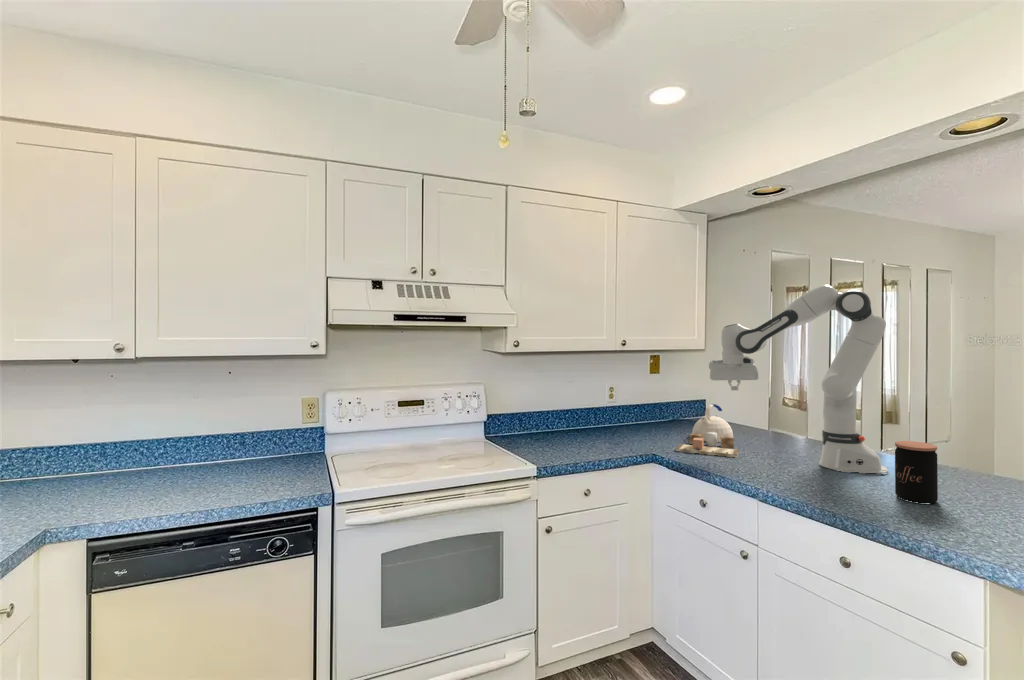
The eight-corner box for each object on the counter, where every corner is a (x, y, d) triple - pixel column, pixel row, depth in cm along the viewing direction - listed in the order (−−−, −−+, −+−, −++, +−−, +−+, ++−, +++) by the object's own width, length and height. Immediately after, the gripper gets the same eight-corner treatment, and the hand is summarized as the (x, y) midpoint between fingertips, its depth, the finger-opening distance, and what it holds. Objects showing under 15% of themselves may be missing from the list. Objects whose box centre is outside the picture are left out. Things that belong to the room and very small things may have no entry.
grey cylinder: (718, 444, 238) (717, 432, 238) (716, 446, 234) (716, 434, 234) (707, 443, 241) (707, 431, 241) (705, 445, 236) (705, 433, 236)
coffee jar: (886, 494, 162) (886, 441, 162) (916, 493, 163) (916, 440, 163) (915, 506, 151) (915, 448, 151) (947, 504, 152) (946, 447, 152)
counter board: (738, 452, 221) (738, 449, 221) (736, 457, 213) (736, 454, 213) (680, 447, 234) (679, 443, 234) (675, 451, 226) (675, 448, 226)
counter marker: (703, 446, 227) (703, 438, 227) (701, 450, 220) (701, 441, 220) (694, 446, 229) (694, 437, 229) (692, 449, 222) (691, 440, 222)
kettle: (684, 438, 254) (683, 404, 254) (703, 432, 268) (702, 400, 267) (722, 444, 239) (721, 408, 239) (740, 438, 252) (740, 403, 252)
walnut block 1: (703, 444, 240) (703, 434, 240) (699, 446, 237) (699, 435, 236) (693, 442, 244) (693, 433, 244) (689, 444, 240) (689, 434, 240)
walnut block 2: (731, 446, 235) (731, 436, 235) (733, 448, 230) (733, 438, 230) (720, 445, 236) (720, 435, 236) (722, 448, 231) (722, 437, 231)
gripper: (707, 360, 222) (709, 390, 222) (757, 359, 212) (759, 390, 212) (709, 360, 228) (711, 389, 227) (758, 358, 217) (759, 389, 217)
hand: (734, 390), depth 220 cm, fingers closed
